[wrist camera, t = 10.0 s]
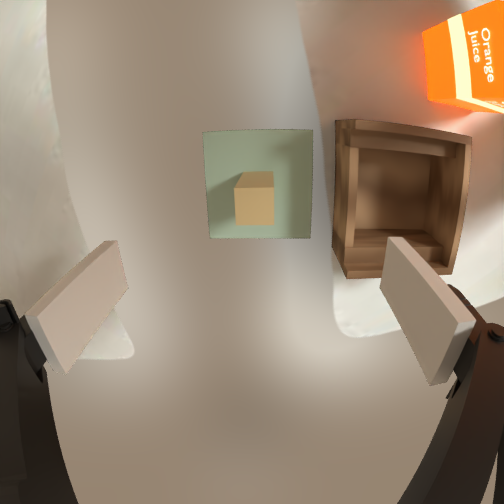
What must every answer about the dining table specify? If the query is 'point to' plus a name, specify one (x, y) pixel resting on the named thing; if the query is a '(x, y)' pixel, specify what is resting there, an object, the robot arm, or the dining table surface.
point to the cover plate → (260, 158)
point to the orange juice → (468, 59)
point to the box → (398, 193)
